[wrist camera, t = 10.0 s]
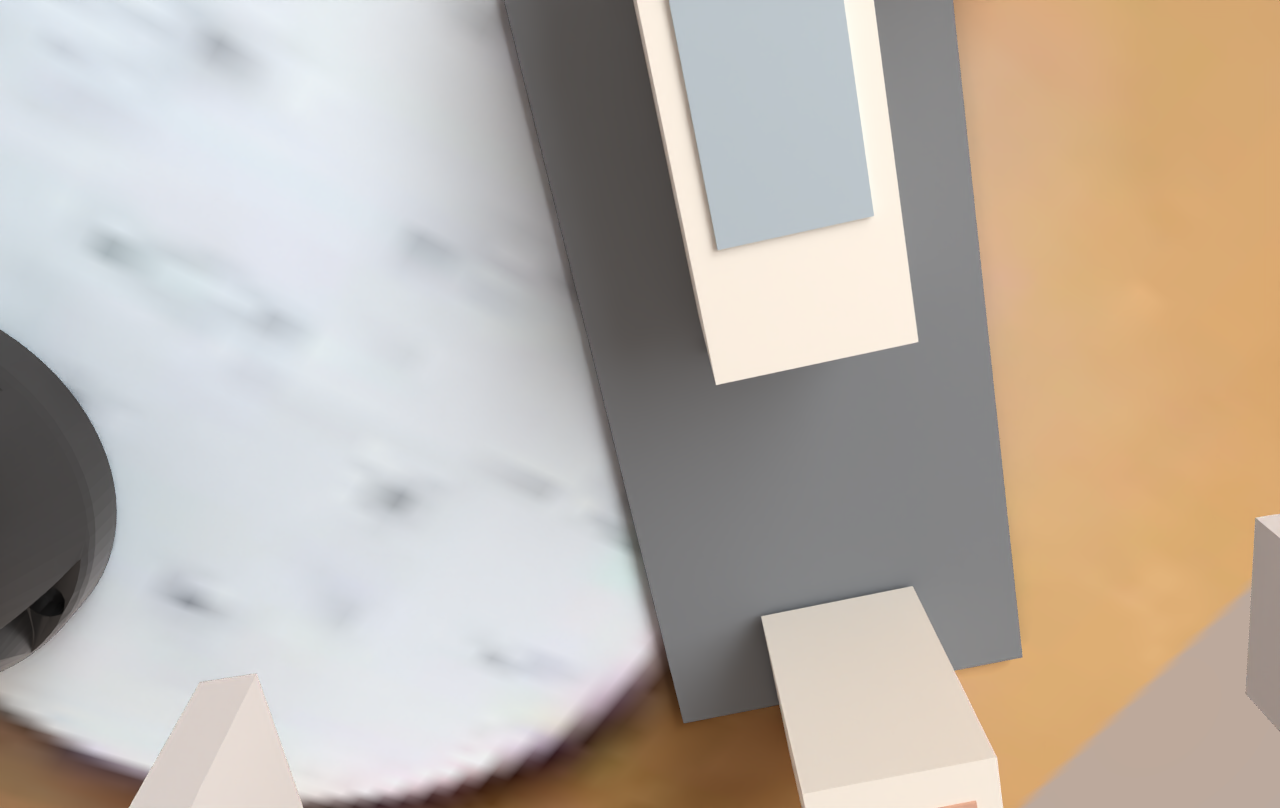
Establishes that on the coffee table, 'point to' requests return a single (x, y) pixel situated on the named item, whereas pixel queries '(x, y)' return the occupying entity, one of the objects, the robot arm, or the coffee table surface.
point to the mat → (780, 375)
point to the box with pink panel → (877, 708)
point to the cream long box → (781, 178)
